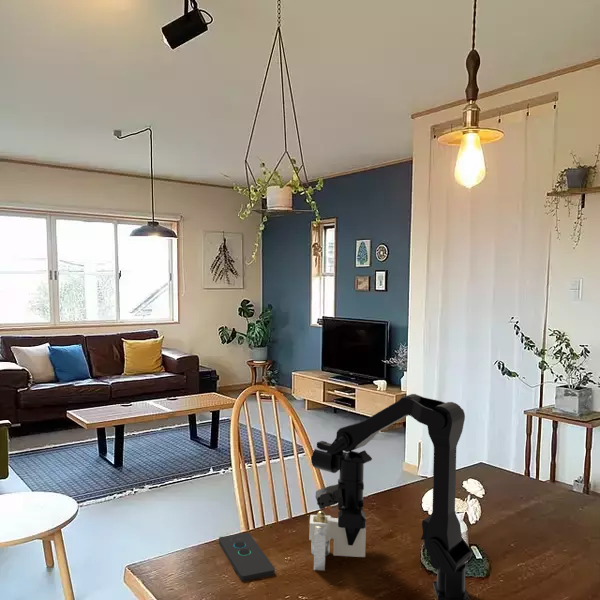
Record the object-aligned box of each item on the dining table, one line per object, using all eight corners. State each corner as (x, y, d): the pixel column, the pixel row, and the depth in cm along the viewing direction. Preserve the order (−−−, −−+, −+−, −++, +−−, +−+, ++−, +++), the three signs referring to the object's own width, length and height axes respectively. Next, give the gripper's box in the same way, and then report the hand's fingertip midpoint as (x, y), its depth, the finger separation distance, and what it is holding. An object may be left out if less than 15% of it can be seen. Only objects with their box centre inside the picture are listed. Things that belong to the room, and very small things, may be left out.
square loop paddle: (365, 559, 130) (366, 526, 130) (308, 556, 131) (309, 523, 131) (364, 549, 135) (365, 517, 135) (309, 546, 136) (310, 514, 136)
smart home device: (249, 531, 141) (276, 568, 123) (249, 538, 141) (276, 576, 123) (217, 536, 138) (240, 576, 119) (217, 543, 138) (240, 583, 119)
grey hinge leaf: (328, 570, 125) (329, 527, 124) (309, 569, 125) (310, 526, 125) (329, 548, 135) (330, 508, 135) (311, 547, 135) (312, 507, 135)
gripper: (319, 463, 142) (318, 523, 142) (316, 490, 123) (315, 558, 124) (362, 465, 141) (361, 525, 142) (366, 492, 123) (365, 561, 123)
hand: (350, 541), depth 133 cm, fingers open, 3 cm apart
